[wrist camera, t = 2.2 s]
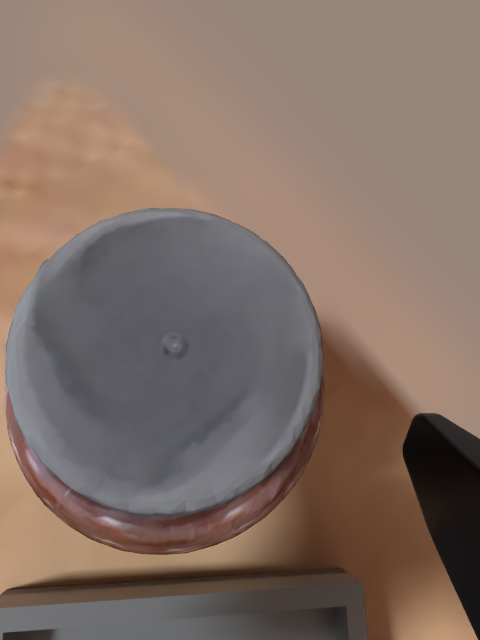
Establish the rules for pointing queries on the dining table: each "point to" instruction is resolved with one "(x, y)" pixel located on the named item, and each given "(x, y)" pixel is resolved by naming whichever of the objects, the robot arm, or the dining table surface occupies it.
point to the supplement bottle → (164, 381)
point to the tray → (192, 609)
